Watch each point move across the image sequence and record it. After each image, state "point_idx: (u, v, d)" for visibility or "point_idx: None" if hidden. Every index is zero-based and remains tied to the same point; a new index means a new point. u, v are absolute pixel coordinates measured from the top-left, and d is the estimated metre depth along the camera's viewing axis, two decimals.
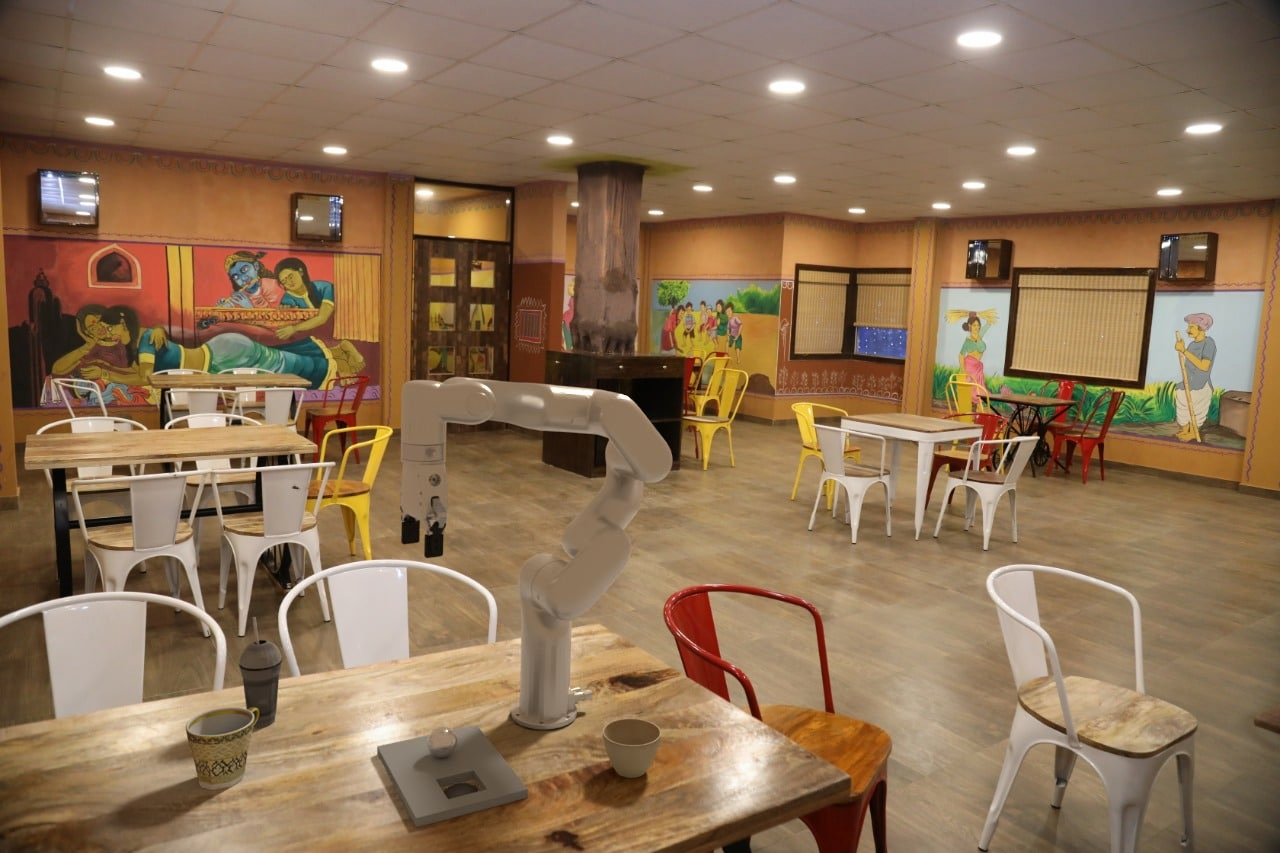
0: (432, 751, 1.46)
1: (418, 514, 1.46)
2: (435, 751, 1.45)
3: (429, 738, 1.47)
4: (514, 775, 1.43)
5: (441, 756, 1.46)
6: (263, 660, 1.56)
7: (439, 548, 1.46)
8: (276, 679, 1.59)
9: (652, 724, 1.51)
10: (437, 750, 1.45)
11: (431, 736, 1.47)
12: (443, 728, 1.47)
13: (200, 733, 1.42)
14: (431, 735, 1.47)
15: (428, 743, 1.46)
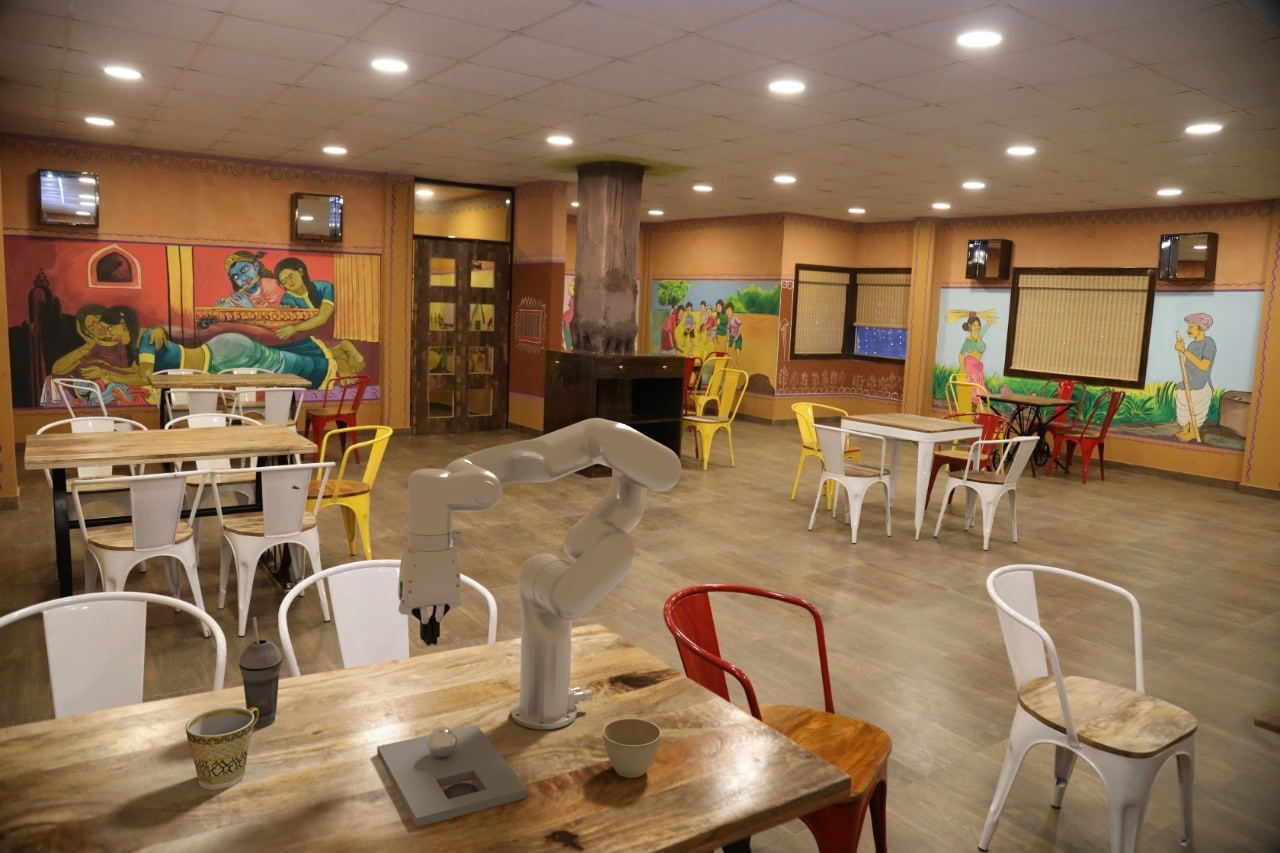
0: (432, 751, 1.46)
1: (451, 597, 1.51)
2: (435, 751, 1.45)
3: (429, 738, 1.47)
4: (514, 775, 1.43)
5: (441, 756, 1.46)
6: (263, 660, 1.56)
7: None
8: (276, 679, 1.59)
9: (652, 724, 1.51)
10: (437, 750, 1.45)
11: (431, 736, 1.47)
12: (443, 728, 1.47)
13: (200, 733, 1.42)
14: (431, 735, 1.47)
15: (428, 743, 1.46)
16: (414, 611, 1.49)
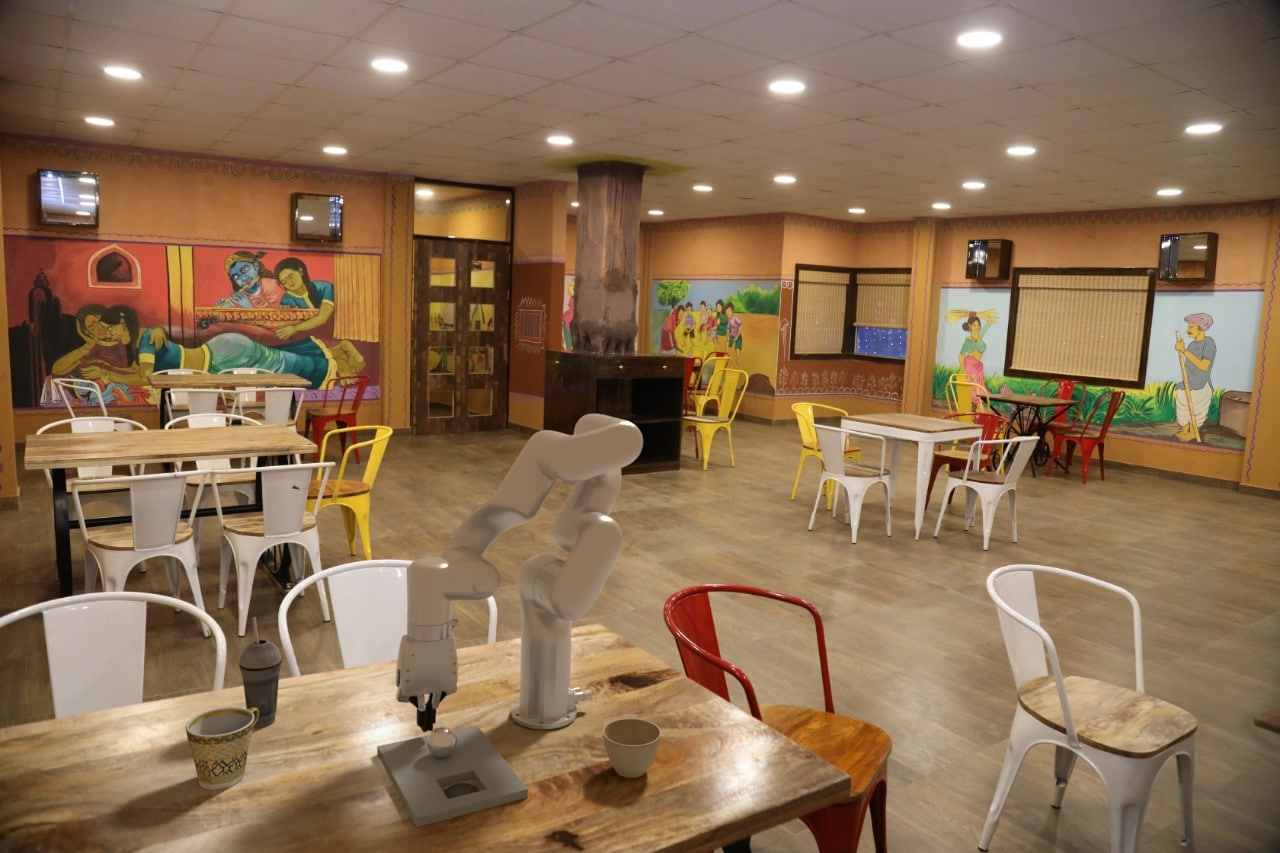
0: (432, 751, 1.46)
1: (448, 684, 1.53)
2: (435, 751, 1.45)
3: (429, 738, 1.47)
4: (514, 775, 1.43)
5: (441, 756, 1.46)
6: (263, 660, 1.56)
7: None
8: (276, 679, 1.59)
9: (652, 724, 1.51)
10: (437, 750, 1.45)
11: (431, 736, 1.47)
12: (443, 728, 1.47)
13: (200, 733, 1.42)
14: (431, 735, 1.47)
15: (428, 743, 1.46)
16: (411, 699, 1.51)
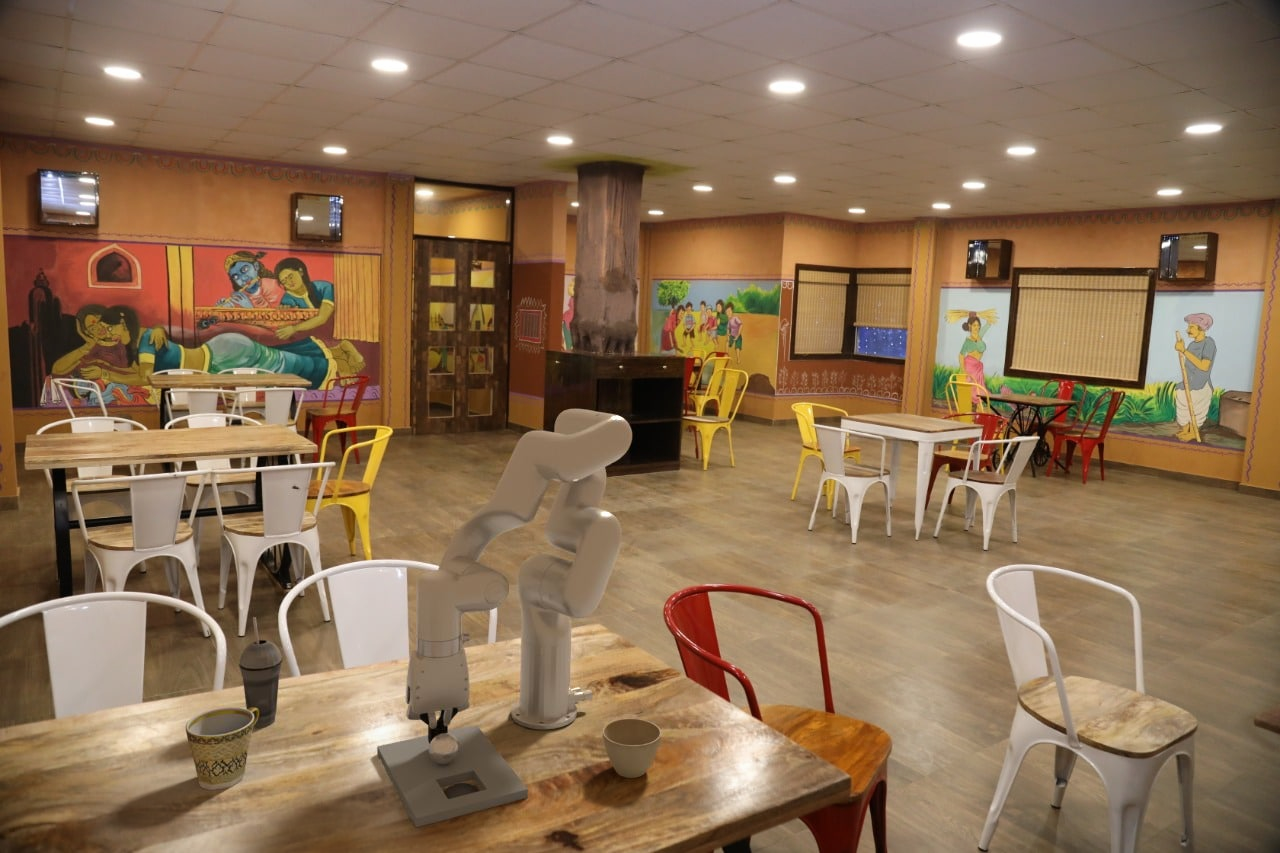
0: None
1: (460, 701, 1.48)
2: None
3: (431, 751, 1.44)
4: (514, 775, 1.43)
5: None
6: (263, 660, 1.56)
7: None
8: (276, 679, 1.59)
9: (651, 724, 1.51)
10: (438, 763, 1.44)
11: (433, 751, 1.43)
12: (446, 746, 1.44)
13: (200, 733, 1.42)
14: (434, 750, 1.43)
15: (430, 753, 1.44)
16: (422, 716, 1.47)
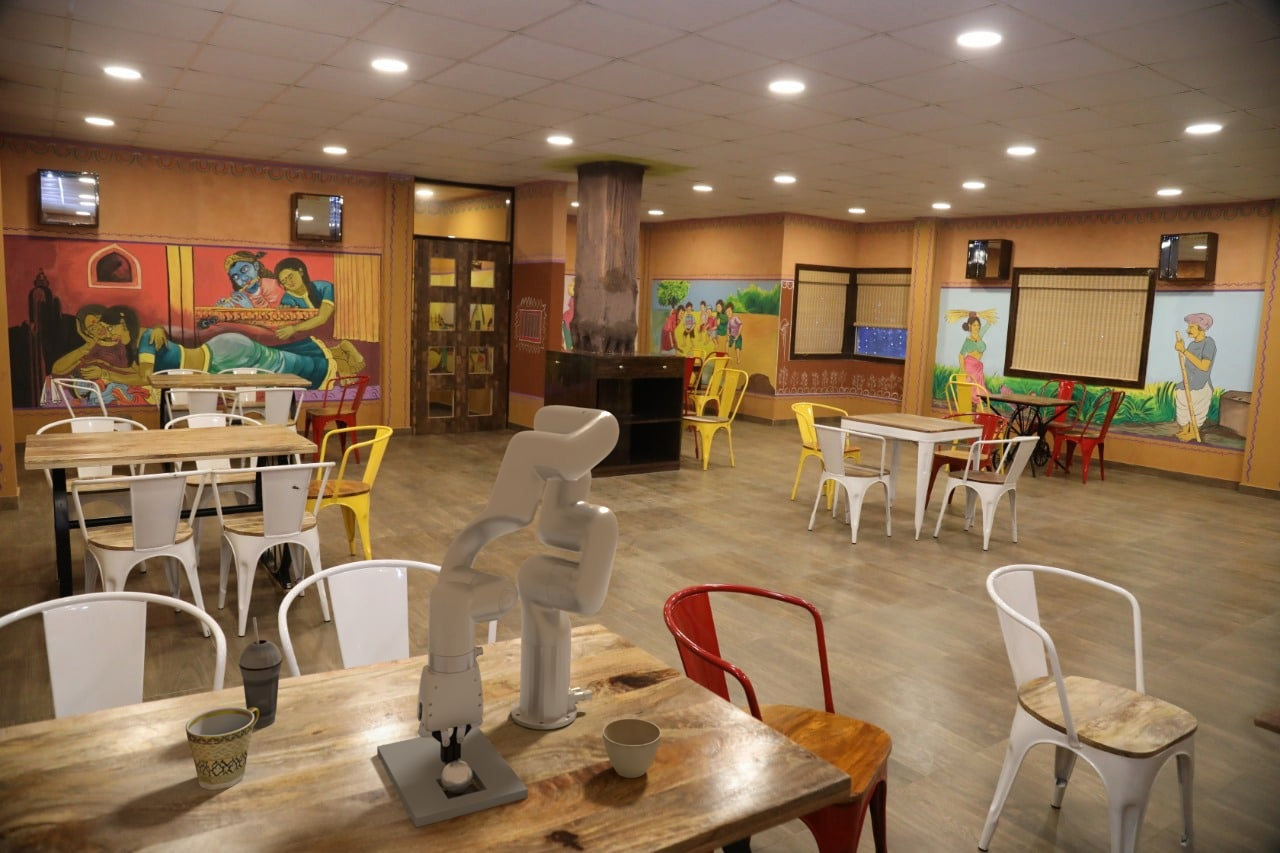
0: None
1: (473, 717, 1.43)
2: None
3: None
4: (514, 775, 1.43)
5: (461, 761, 1.40)
6: (263, 660, 1.56)
7: None
8: (276, 679, 1.59)
9: (652, 724, 1.51)
10: None
11: None
12: None
13: (200, 733, 1.42)
14: None
15: None
16: (435, 733, 1.41)
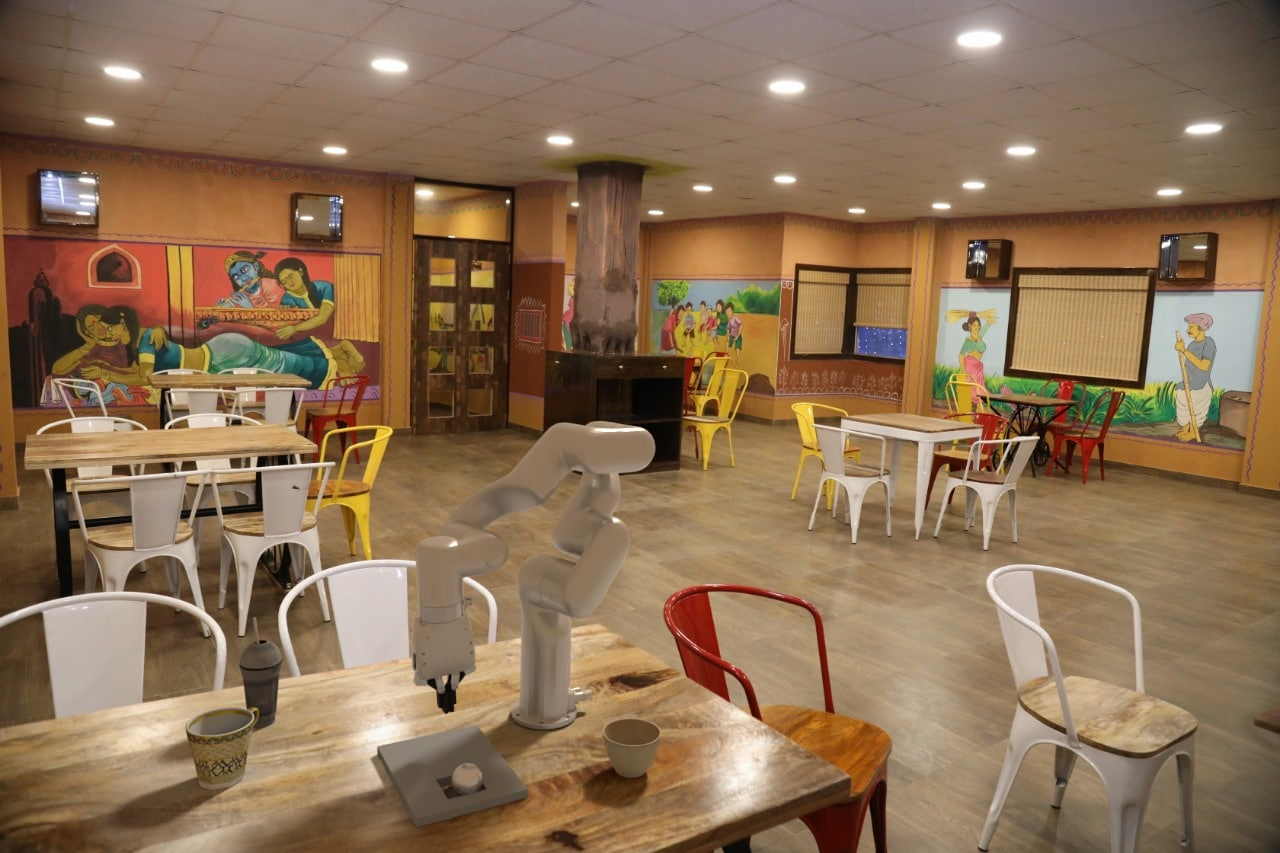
0: (471, 765, 1.39)
1: (466, 664, 1.48)
2: (473, 765, 1.39)
3: None
4: (514, 775, 1.43)
5: (479, 772, 1.39)
6: (263, 660, 1.56)
7: None
8: (276, 679, 1.59)
9: (652, 724, 1.51)
10: None
11: None
12: None
13: (200, 733, 1.42)
14: (458, 767, 1.40)
15: (461, 766, 1.39)
16: (429, 681, 1.47)
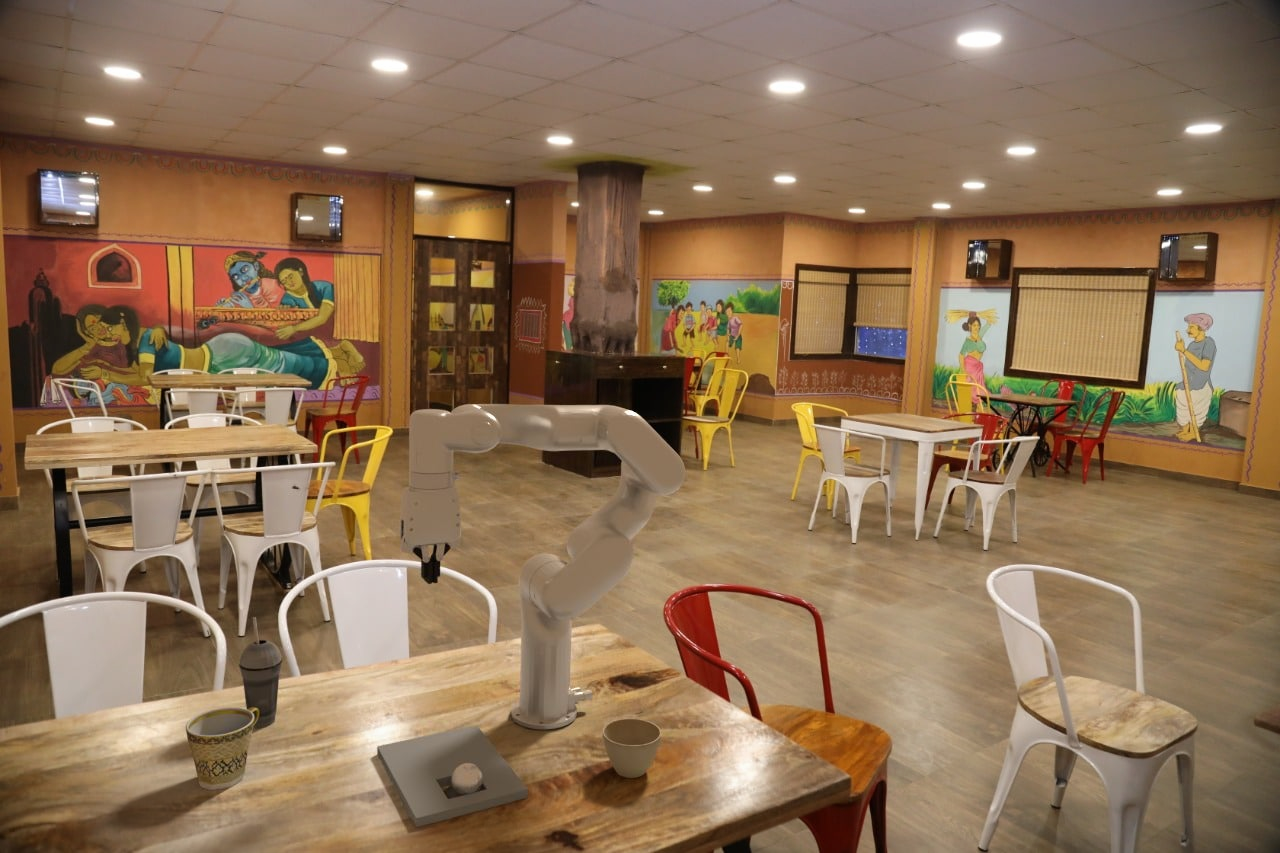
0: (471, 765, 1.39)
1: (452, 536, 1.53)
2: (473, 764, 1.39)
3: (458, 766, 1.39)
4: (514, 775, 1.43)
5: (479, 772, 1.39)
6: (263, 660, 1.56)
7: None
8: (276, 679, 1.59)
9: (652, 724, 1.51)
10: None
11: (458, 766, 1.40)
12: None
13: (200, 733, 1.42)
14: (458, 767, 1.40)
15: (461, 766, 1.39)
16: (415, 549, 1.51)
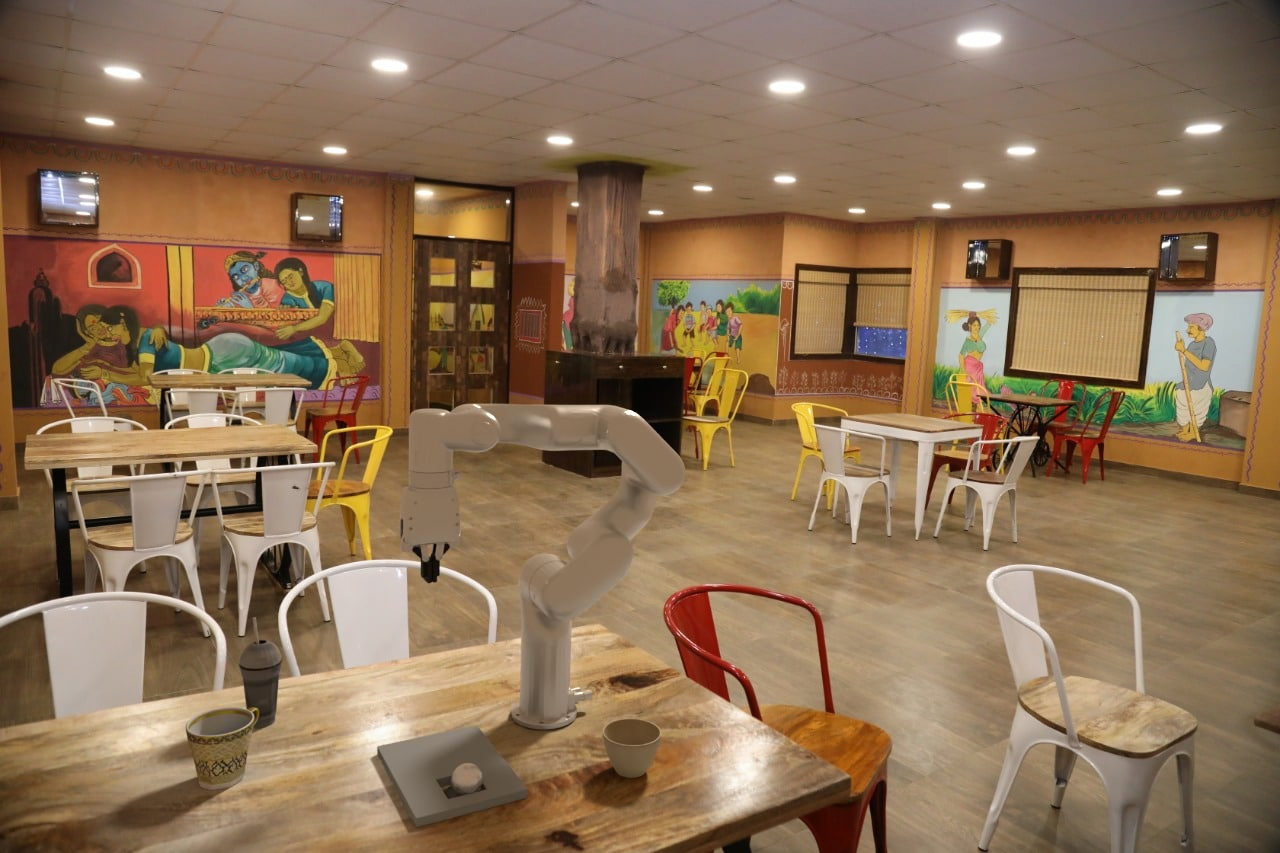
0: (471, 765, 1.39)
1: (451, 535, 1.53)
2: (473, 764, 1.39)
3: (458, 766, 1.39)
4: (514, 775, 1.43)
5: (479, 772, 1.39)
6: (263, 660, 1.56)
7: None
8: (276, 679, 1.59)
9: (652, 724, 1.51)
10: None
11: (458, 766, 1.40)
12: None
13: (200, 733, 1.42)
14: (457, 767, 1.40)
15: (461, 766, 1.39)
16: (415, 549, 1.51)
